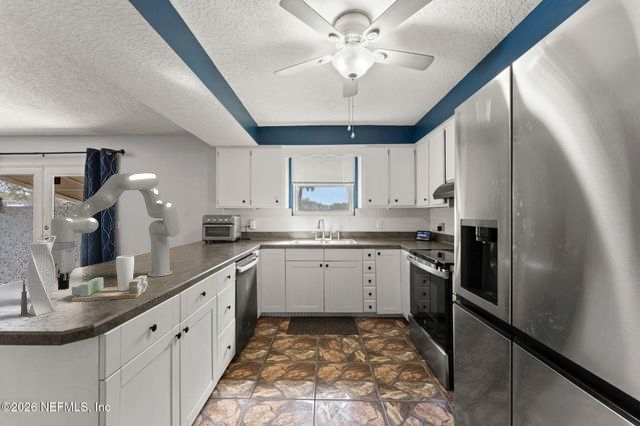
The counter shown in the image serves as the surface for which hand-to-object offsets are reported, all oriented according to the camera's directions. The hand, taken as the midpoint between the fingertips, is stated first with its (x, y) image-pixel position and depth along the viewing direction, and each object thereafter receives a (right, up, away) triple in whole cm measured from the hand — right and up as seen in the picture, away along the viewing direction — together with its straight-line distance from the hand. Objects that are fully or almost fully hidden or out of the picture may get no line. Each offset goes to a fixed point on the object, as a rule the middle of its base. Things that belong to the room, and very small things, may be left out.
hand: (63, 289), depth 122 cm
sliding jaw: (+8, -2, +2) cm, 9 cm away
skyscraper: (+8, -4, -18) cm, 20 cm away
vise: (+18, -4, +5) cm, 19 cm away
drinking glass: (+22, -2, +6) cm, 23 cm away
